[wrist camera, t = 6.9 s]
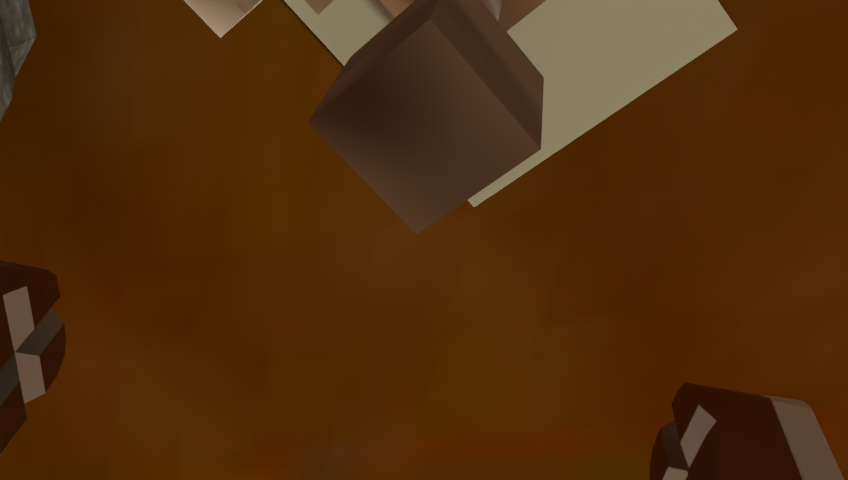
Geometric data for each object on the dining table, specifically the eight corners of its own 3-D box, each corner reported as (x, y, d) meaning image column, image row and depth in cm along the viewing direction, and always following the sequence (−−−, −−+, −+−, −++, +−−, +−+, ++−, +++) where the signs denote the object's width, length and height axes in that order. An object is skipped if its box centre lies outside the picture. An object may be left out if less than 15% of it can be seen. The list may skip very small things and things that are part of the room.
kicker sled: (444, 72, 24) (379, 259, 15) (332, -56, 23) (191, 72, 14) (576, -33, 22) (588, 117, 13) (463, -184, 20) (392, -126, 12)
